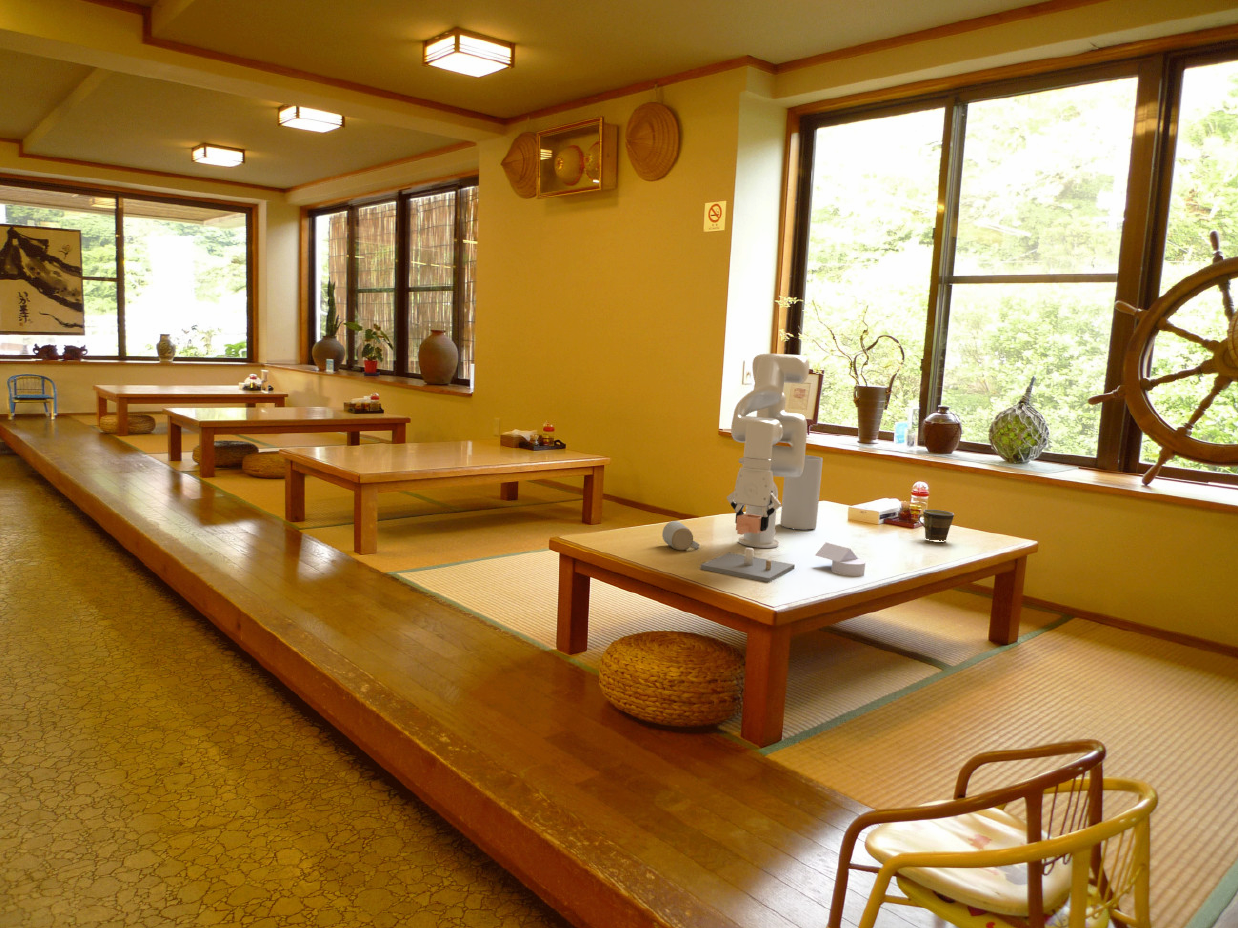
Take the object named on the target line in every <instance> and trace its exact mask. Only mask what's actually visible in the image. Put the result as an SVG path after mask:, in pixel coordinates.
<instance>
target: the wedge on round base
mask: <svg viewBox="0 0 1238 928" xmlns="http://www.w3.org/2000/svg"><path fill="white" fill-rule="evenodd" d="M815 556H817V557H818V558H819V557H820V558H822V559H823V558H824V559H827V560H830V561H832V564H831V571H832V572H833V573H835V572H836V573H835V574H838V573H839V575H844V576H848V577H859V576H860V577H861V576H864V575H865V571H866V570H865V569H866V561H865V560H864V559H860V558H858V556H857V555H856V554H855V553H854V551H853V550H852V549H851V548H848V547H845V546H841V545H837V544H833V543H829V542H825V543H824V544H823V545H822V546H821V548H820V549H819V550H818V551H817V552H816V553H815ZM863 574H864V575H863Z"/></svg>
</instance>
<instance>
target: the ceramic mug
mask: <svg viewBox="0 0 1238 928" xmlns="http://www.w3.org/2000/svg"><path fill="white" fill-rule="evenodd" d="M661 536H662V539H663V541H664V542H665V544H666V545H668V546H670V547H672V548H673V549H674V550H676V551H685V550H688V549H689V548H690V547H692V548H694V549H696V550H698V549H699V547H700V543H698V542H697V541H695V540H694V534H693V533H692V530H690V528H689V527H687V526H686V525H684V524H683V523H682V522H680V521H678V520H672V521H670V522H667V524H665V526H664V527H663V530H662V535H661Z"/></svg>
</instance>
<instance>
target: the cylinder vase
mask: <svg viewBox="0 0 1238 928" xmlns="http://www.w3.org/2000/svg"><path fill="white" fill-rule="evenodd" d="M823 461H824V460H823V457H820V456H816V455H815V456H814V455H806V454H805V461H804V468H803V472H802V474H801V476H799V477H796V478H790V477H783V478H784V479H783V489H782V498H781V499H782V500H781V511H780V513H781V514H780V522H779V523H780V526H782V527H783V526H784V527H783V528H786V527H788V528H787V529H789V528H794V529H793V530H795V529H806V530H805V531H808V530H807V529H813V530H816V528H817V523H818V521H817V520H818V513H819V502H820V501H819V499H820V491H821V483H822V471H823V470H822V469H823Z"/></svg>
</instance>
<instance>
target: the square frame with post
mask: <svg viewBox="0 0 1238 928" xmlns="http://www.w3.org/2000/svg"><path fill="white" fill-rule="evenodd" d="M761 517H763V516H760V515H754V514H747V513H746V512H744V514H742V515H738V516H737V521H736V523H735V531H736V533H737V535H740V536H741V535H742V536H744V534H746V533H749V532H750V533H756V534H758V533H761V532H764V531H760V527H761ZM765 531H766V530H765Z"/></svg>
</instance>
